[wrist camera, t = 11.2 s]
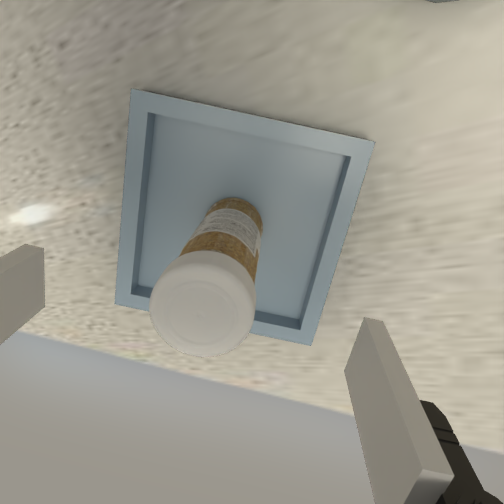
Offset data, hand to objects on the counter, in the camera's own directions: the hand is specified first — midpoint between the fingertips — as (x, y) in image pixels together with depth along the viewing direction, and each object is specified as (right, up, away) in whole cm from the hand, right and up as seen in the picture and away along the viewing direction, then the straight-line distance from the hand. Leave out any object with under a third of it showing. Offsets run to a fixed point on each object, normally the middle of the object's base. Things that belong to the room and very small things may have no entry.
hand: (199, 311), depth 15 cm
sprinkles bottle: (+1, +4, +13) cm, 14 cm away
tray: (+1, +5, +14) cm, 14 cm away
